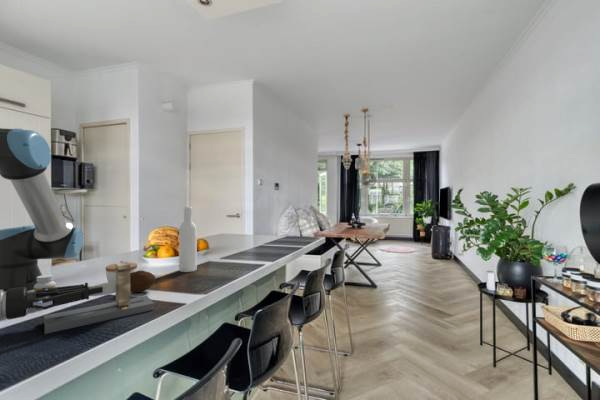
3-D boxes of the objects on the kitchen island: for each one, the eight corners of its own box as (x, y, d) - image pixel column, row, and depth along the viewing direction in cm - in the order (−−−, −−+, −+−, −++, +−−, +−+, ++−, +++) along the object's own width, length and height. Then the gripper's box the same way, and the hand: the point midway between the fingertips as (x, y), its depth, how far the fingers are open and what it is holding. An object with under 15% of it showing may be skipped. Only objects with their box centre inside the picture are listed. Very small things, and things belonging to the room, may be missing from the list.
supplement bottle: (60, 304, 98) (59, 274, 98) (40, 310, 93) (40, 279, 93) (49, 302, 100) (49, 273, 99) (30, 307, 95) (29, 277, 94)
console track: (44, 334, 77) (44, 325, 77) (44, 322, 84) (44, 314, 84) (154, 309, 94) (154, 302, 94) (146, 301, 101) (146, 295, 101)
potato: (127, 290, 112) (127, 269, 112) (156, 287, 116) (156, 267, 116) (123, 296, 106) (123, 274, 105) (154, 293, 109) (154, 271, 109)
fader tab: (118, 306, 89) (118, 266, 89) (115, 302, 93) (115, 263, 93) (130, 304, 91) (130, 264, 91) (127, 299, 95) (126, 261, 95)
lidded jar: (123, 290, 113) (123, 265, 112) (98, 288, 115) (98, 263, 115) (143, 282, 123) (143, 259, 123) (120, 280, 125) (120, 257, 125)
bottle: (178, 269, 145) (178, 206, 144) (195, 267, 148) (196, 206, 148) (179, 273, 138) (179, 207, 137) (197, 271, 141) (197, 206, 141)
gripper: (7, 311, 80) (111, 293, 96) (3, 328, 71) (119, 304, 86) (7, 283, 80) (110, 269, 96) (3, 296, 70) (119, 278, 86)
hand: (114, 286), depth 91 cm, fingers closed
